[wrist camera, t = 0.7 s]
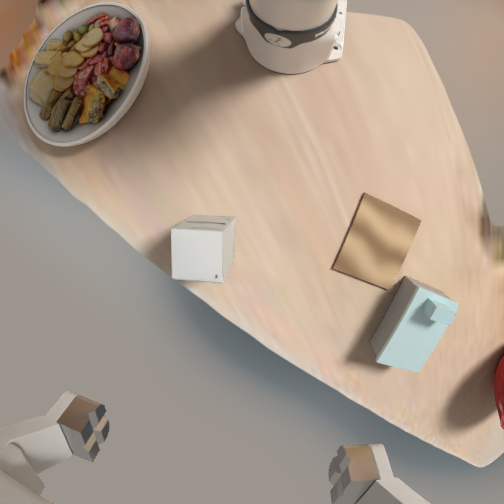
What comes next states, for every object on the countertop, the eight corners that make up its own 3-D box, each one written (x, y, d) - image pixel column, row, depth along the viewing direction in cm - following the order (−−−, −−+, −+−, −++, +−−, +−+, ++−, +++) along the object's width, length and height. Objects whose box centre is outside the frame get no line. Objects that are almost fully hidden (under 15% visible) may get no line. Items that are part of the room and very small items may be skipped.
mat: (364, 192, 48) (365, 193, 47) (419, 219, 48) (421, 220, 48) (332, 267, 52) (333, 268, 51) (388, 288, 52) (389, 290, 51)
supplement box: (237, 215, 51) (225, 231, 38) (235, 258, 53) (223, 285, 40) (194, 213, 51) (169, 227, 39) (193, 254, 53) (170, 280, 41)
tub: (405, 275, 51) (418, 287, 45) (441, 291, 51) (455, 303, 46) (369, 342, 55) (377, 358, 50) (406, 352, 56) (416, 368, 50)
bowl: (61, 175, 51) (36, 178, 43) (27, 71, 44) (5, 66, 37) (183, 89, 45) (168, 77, 38) (129, -12, 39) (113, -29, 31)
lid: (417, 285, 45) (428, 295, 41) (457, 302, 46) (468, 312, 41) (375, 359, 50) (381, 373, 45) (416, 370, 50) (424, 383, 46)
